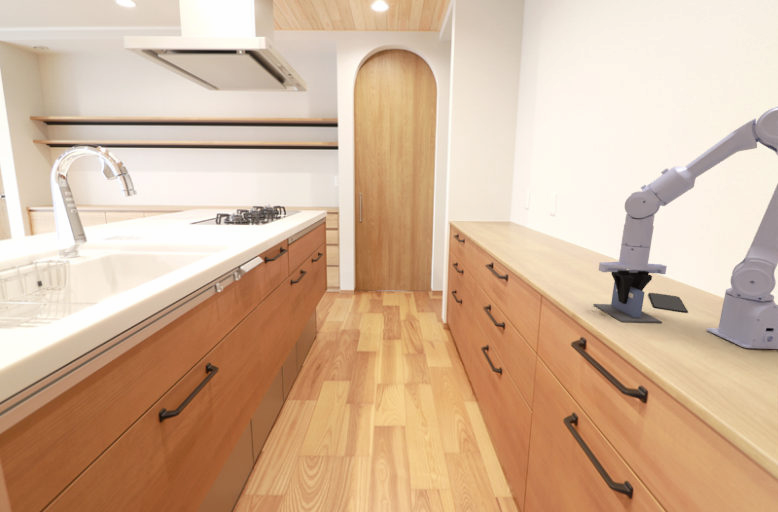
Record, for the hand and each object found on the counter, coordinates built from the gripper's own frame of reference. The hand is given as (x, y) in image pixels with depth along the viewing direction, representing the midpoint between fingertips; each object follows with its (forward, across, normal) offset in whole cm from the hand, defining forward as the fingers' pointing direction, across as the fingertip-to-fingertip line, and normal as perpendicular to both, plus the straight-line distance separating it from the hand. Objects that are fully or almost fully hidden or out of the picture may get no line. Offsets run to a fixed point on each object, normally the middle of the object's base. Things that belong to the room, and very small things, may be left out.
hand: (627, 302), depth 94 cm
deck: (+2, 0, 0) cm, 2 cm away
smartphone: (+3, -17, -10) cm, 20 cm away
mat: (+3, 0, 0) cm, 3 cm away
